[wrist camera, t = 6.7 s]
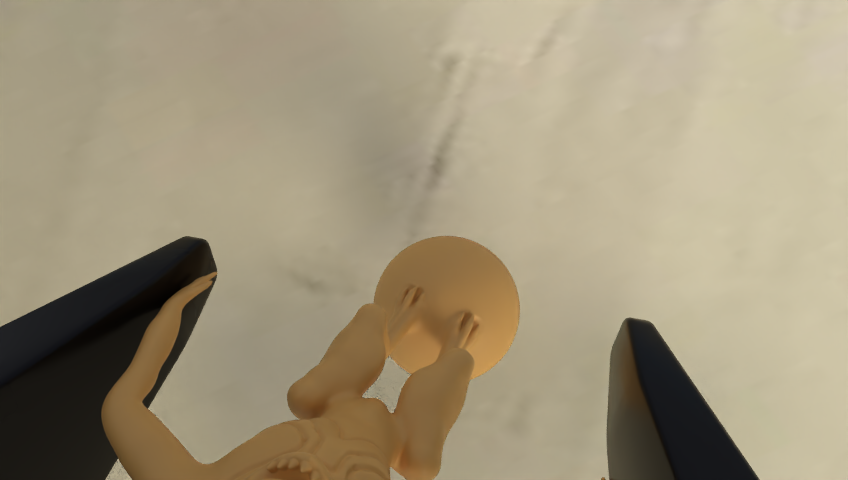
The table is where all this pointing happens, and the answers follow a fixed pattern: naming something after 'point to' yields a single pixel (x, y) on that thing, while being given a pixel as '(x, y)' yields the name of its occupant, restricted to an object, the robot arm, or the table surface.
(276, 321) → the table surface
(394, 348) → the figurine
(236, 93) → the table surface
